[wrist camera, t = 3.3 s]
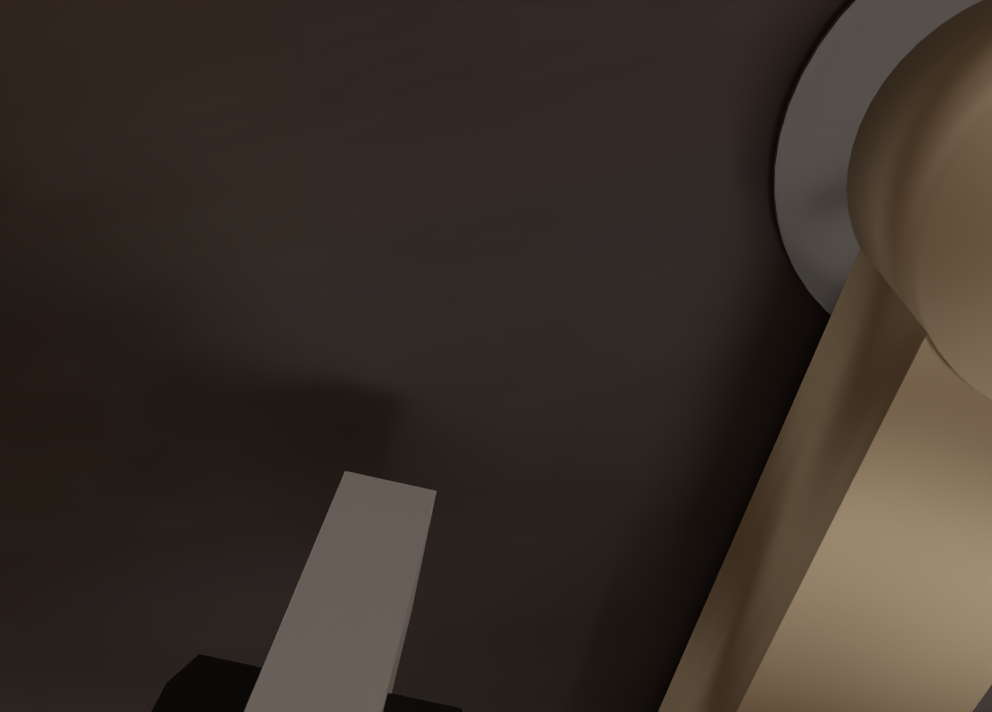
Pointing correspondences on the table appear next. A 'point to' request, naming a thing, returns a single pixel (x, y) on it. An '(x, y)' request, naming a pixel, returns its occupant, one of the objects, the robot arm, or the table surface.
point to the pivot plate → (838, 131)
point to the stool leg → (880, 437)
